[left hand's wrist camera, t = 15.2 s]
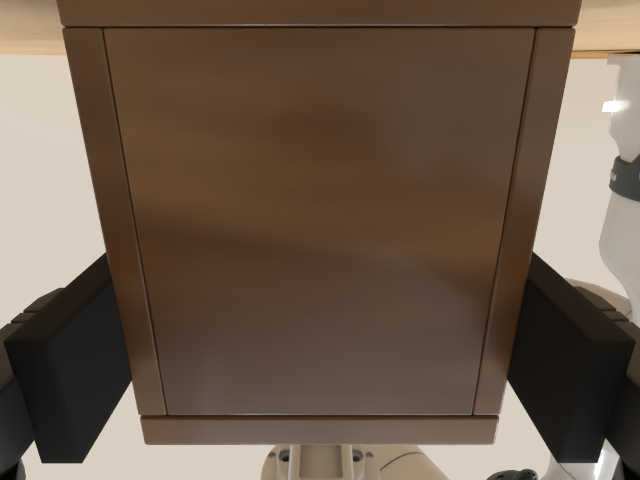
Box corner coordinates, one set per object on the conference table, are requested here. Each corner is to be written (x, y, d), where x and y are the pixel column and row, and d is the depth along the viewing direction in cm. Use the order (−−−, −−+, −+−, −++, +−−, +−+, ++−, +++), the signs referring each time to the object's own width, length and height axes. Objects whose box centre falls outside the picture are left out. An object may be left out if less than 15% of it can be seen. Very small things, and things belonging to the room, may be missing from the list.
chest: (404, 38, 23) (393, 207, 26) (235, 38, 23) (246, 207, 26) (588, -21, 7) (501, 416, 11) (50, -21, 7) (137, 416, 11)
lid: (392, 204, 27) (384, 323, 30) (248, 204, 27) (256, 323, 30) (501, 417, 11) (459, 627, 14) (138, 417, 11) (180, 627, 14)
